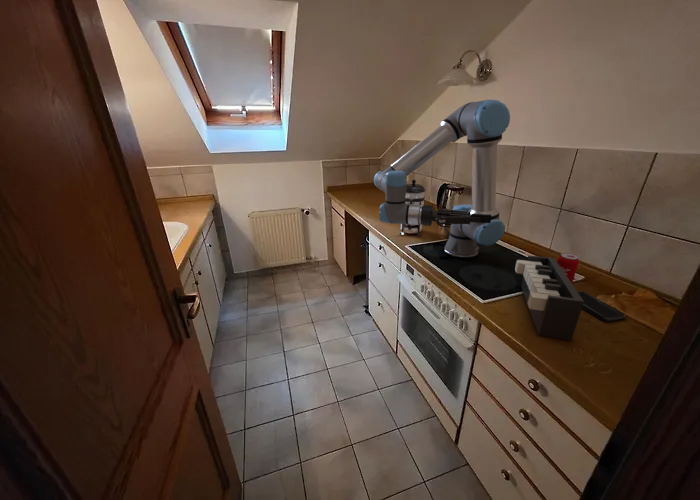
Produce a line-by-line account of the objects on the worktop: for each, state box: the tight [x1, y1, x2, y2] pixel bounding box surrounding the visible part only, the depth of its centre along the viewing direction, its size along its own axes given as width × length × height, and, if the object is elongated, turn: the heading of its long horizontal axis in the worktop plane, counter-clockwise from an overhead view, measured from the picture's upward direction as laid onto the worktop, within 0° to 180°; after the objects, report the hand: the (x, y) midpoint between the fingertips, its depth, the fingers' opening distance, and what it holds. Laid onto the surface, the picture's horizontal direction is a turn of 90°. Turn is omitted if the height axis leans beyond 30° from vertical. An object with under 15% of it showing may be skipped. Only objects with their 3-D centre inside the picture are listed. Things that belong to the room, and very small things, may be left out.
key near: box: [527, 292, 557, 311], centre depth 85 cm, size 3×8×4 cm, turn 71°
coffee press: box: [399, 179, 426, 237], centre depth 162 cm, size 17×16×30 cm
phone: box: [577, 291, 626, 323], centre depth 98 cm, size 8×1×15 cm
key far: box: [514, 259, 542, 275], centre depth 105 cm, size 3×8×4 cm, turn 71°
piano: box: [520, 254, 584, 342], centre depth 95 cm, size 29×10×13 cm, turn 161°
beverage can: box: [556, 252, 580, 284], centre depth 109 cm, size 6×6×12 cm
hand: (490, 218), depth 103 cm, fingers closed
